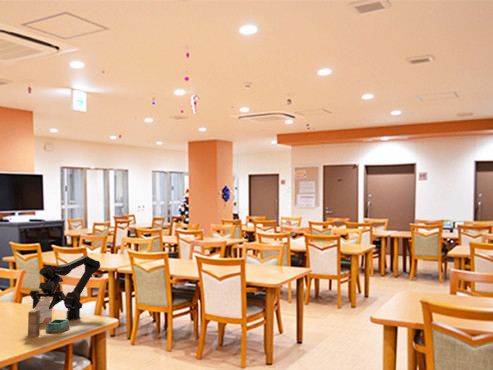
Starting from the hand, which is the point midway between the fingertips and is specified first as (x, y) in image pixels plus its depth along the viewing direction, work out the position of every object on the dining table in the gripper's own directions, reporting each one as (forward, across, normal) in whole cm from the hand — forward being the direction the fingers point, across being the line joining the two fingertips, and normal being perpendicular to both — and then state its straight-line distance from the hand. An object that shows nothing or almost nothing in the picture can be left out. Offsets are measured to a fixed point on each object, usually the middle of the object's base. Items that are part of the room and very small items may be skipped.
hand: (41, 308), depth 229 cm
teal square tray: (+5, +7, +12) cm, 15 cm away
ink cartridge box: (-4, -9, +22) cm, 24 cm away
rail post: (+13, 0, +4) cm, 14 cm away
